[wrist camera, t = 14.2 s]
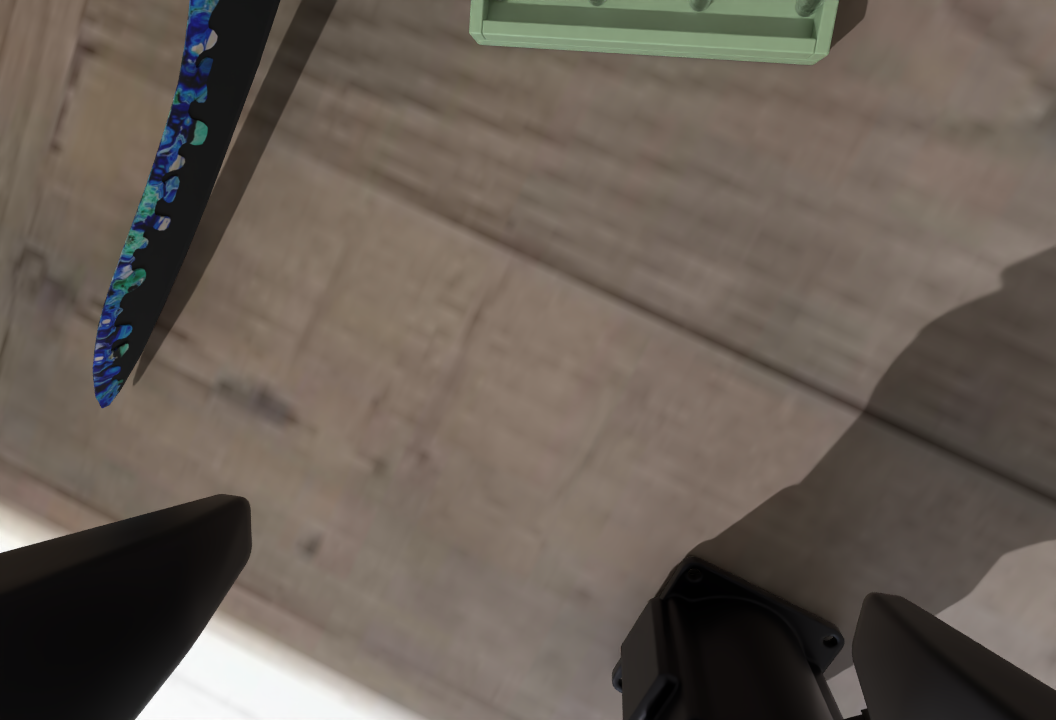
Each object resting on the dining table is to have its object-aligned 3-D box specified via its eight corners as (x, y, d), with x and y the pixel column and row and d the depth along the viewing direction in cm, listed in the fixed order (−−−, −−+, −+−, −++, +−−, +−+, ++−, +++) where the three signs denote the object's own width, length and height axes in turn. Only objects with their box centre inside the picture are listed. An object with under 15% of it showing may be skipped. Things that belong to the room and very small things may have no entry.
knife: (486, -593, 14) (416, -897, 10) (585, -514, 15) (556, -784, 10) (108, 346, 26) (2, 382, 22) (165, 388, 26) (70, 431, 22)
